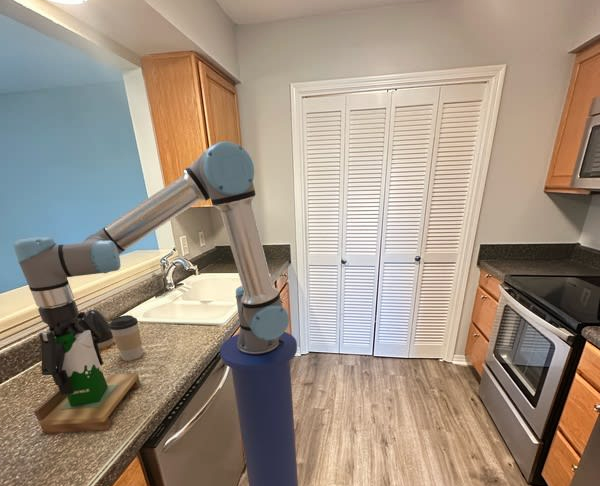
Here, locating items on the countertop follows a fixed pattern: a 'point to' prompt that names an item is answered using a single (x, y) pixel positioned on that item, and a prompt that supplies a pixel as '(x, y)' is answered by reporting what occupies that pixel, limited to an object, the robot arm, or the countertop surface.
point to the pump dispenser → (100, 328)
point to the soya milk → (82, 368)
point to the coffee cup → (127, 337)
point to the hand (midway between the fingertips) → (84, 378)
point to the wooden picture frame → (84, 408)
